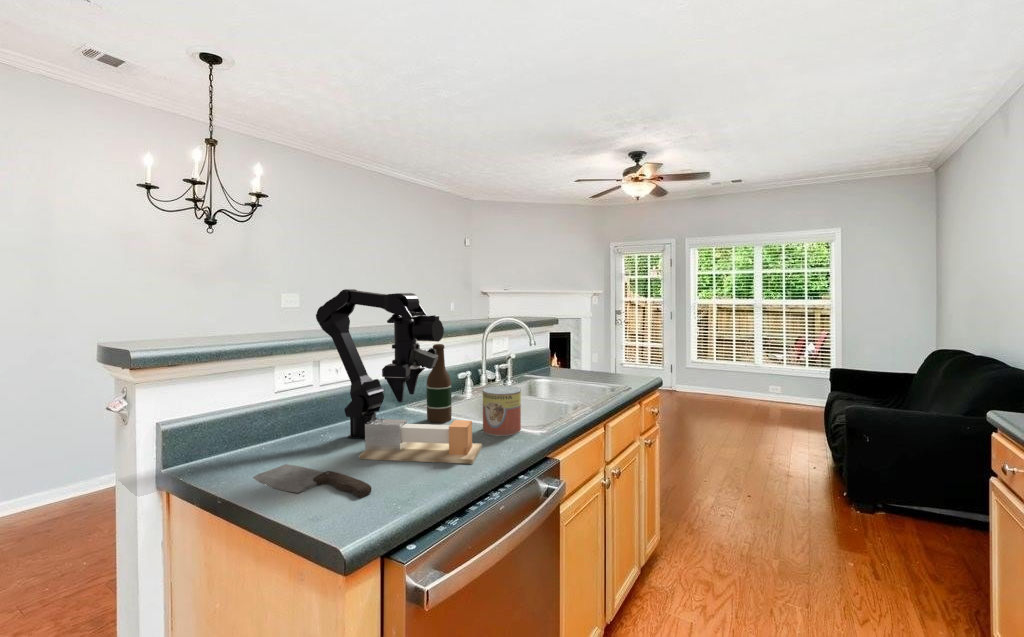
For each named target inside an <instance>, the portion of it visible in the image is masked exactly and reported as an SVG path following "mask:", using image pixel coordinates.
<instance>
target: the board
mask: <svg viewBox="0 0 1024 637" xmlns="http://www.w3.org/2000/svg"><path fill="white" fill-rule="evenodd" d="M482 448H483V443H478V442H477V443H476V442H475V443H474V442H472V448H471V450H470V451H469V453H468V454H467V455H457V454H449V444H444V443H418V442H407V446H405V447H404V448H403V449H402V450H401V451H400V452H397V451H373V450H365V449H364V450H363V452H361V453H360V454H359V460H374V461H375V460H379V461H400V462H401V461H402V462H404V461H405V462H422V463H423V462H426V463H445V464H446V463H450V464H467V465H468V464H469V465H470V464H471V465H472V464H474V463H475V460H476V459H477V457H478V455H479V453H480V451H481V450H482Z"/></svg>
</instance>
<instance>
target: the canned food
mask: <svg viewBox="0 0 1024 637" xmlns="http://www.w3.org/2000/svg"><path fill="white" fill-rule="evenodd" d="M521 402H522V389H521V388H520V387H516V386H513V385H510V386H509V385H495V386H488V387H484V388H483V389H482V432H483V433H484V434H486V435H489V436H496V437H497V436H498V437H506V436H515V435H517V434H519V433H520V432H519V431H520V430H521V431H522V426H521V425H522V424H521V423H522V418H521V417H522V410H521V409H522V408H521V407H522V406H521V405H522V403H521ZM518 432H519V433H518Z"/></svg>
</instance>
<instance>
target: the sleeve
mask: <svg viewBox="0 0 1024 637" xmlns="http://www.w3.org/2000/svg"><path fill="white" fill-rule="evenodd" d="M403 424H408V420H407V419H398V418H397V419H395V418H394V419H390V418H377V419H372V420H371V421H369V422H367V423H366V424H365V439H364V443H365V444H364V446H365V447H364V448H365V449H364V451H365V450H373V451H397V452H400V451H401V450H402V449H403V448H404V447H405V446H407V442H401V437H400V426H402V425H403Z"/></svg>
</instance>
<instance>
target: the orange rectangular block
mask: <svg viewBox="0 0 1024 637" xmlns="http://www.w3.org/2000/svg"><path fill="white" fill-rule="evenodd" d="M449 425H450V426H449V454H457V455H467V454H468V453H469V451H470V450H471V448H472V443H473V420H463V419H462V420H459V419H454V420H453V421H452V422H451V423H450V424H449Z"/></svg>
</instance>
